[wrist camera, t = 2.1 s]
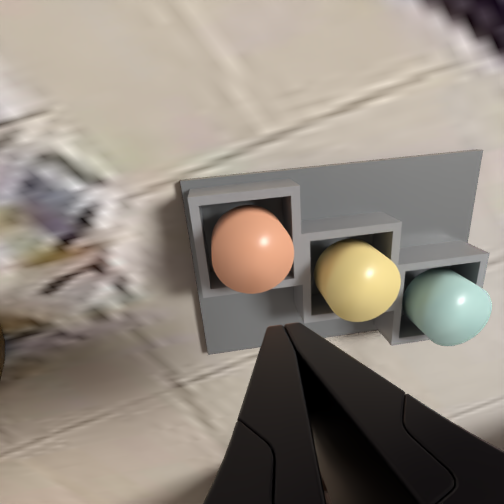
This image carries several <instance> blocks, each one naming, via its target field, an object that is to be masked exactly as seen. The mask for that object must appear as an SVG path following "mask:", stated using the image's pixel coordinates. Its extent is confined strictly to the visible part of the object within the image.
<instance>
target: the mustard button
mask: <svg viewBox="0 0 504 504" xmlns="http://www.w3.org/2000/svg"><path fill="white" fill-rule="evenodd" d="M314 280H315V284H316V286H317V288H318V290H319V291H320V293H321V294H322V296H323V297H324V299H325V300H326V302H327V303H328V305H329V306H330V308H331V309H332V311H333V312H334V313H335V314H336V315H337V316H339V317H340V318H342V319H344V320H347V321H351V322H363V321H368V320H371V319H373V318H376V317H378V316H379V315H381V314H382V313H384V312H385V311H386V310H387V309H388V308H389V307H390V306H391V305H392V304H393V303H394V301H395V299H396V298H397V296H398V293H399V290H400V285H401V278H400V273H399V270H398V268H397V267H396V265H395V264H394V263H393V262H392V261H391V260H390V259H389V258H387V257H386V256H385V255H383V254H382V253H381V252H379V251H378V250H377V249H375V248H374V247H373V246H371V245H370V244H369V243H367V242H365V241H363V240H360V239H344V240H340V241H338V242H335V243H334V244H332V245H330V246H329V247H328V248H326V249H325V250H324V251H323V253H322V254H321V255H320V257H319V258H318V260H317V262H316V265H315V269H314Z"/></svg>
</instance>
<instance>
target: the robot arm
mask: <svg viewBox="0 0 504 504" xmlns="http://www.w3.org/2000/svg"><path fill="white" fill-rule="evenodd" d="M320 472H321V474H320ZM321 475H322V477H323V480H324V483H325V485H326V488H327V491H328V493H329V496H330V499H331V501H332V504H504V451H502V450H500V449H498V448H497V447H495V446H493V445H491V444H490V443H488V442H486V441H484V440H482V439H481V438H479V437H477V436H475V435H474V434H472V433H470V432H468V431H467V430H465V429H463V428H462V427H460V426H458V425H456V424H455V423H453V422H451V421H449V420H448V419H446V418H445V417H443V416H441V415H440V414H438V413H437V412H435V411H434V410H432V409H430V408H429V407H427V406H426V405H424V404H423V403H421V402H420V401H418V400H417V399H415V398H413V397H412V396H410V395H409V394H406V395H405V392H404V391H403V390H401V389H400V388H398V387H397V386H395V385H394V384H392V383H391V382H389V381H388V380H386V379H385V378H383V377H382V376H380V375H379V374H377V373H376V372H374V371H373V370H371V369H370V368H368V367H366V366H365V365H363V364H362V363H360V362H359V361H357V360H356V359H354V358H353V357H351V356H350V355H348V354H347V353H345V352H344V351H342V350H341V349H339V348H338V347H336V346H335V345H333V344H332V343H330V342H329V341H327V340H326V339H324V338H323V337H321V336H320V335H318V334H317V333H315V332H314V331H312V330H311V329H309V328H308V327H306V326H305V325H303V324H302V323H300V322H296V323H289V324H285V325H284V326H283V325H275V326H269V327H267V329H266V332H265V335H264V338H263V341H262V345H261V348H260V351H259V354H258V357H257V360H256V363H255V366H254V369H253V373H252V376H251V379H250V382H249V385H248V388H247V391H246V394H245V397H244V401H243V404H242V407H241V410H240V413H239V416H238V419H237V422H236V425H235V428H234V431H233V434H232V437H231V440H230V443H229V445H228V448H227V451H226V454H225V456H224V459H223V462H222V464H221V466H220V468H219V471H218V473H217V475H216V477H215V480H214V482H213V484H212V486H211V488H210V491H209V493H208V495H207V497H206V499H205V501H204V503H203V504H326V499H325V494H324V489H323V484H322V479H321Z"/></svg>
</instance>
